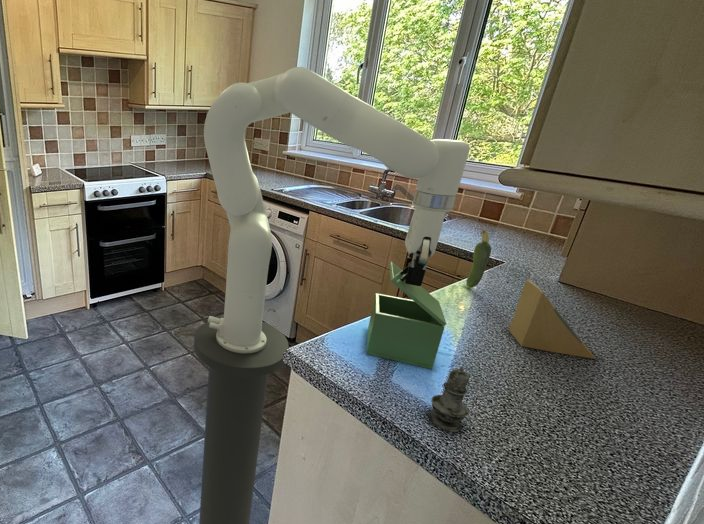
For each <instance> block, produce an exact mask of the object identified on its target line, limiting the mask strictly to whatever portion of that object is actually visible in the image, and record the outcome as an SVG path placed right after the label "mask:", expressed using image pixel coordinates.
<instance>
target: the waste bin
mask: <svg viewBox="0 0 704 524" xmlns="http://www.w3.org/2000/svg"><path fill="white" fill-rule="evenodd" d="M444 331H445V326H443V325H441V324H440V323H439V322H438V321H437V320H436V319H434V318H433V317H432V316H431V315H430V314H429V313H427V312H426V311H425V310H424V309H423V308H422V307H420V306H419V305H418V304H417V303H416V302H415V301H413V300H412V299H411V298H410V299H408V298H403V297H398V296H393V295H388V294H383V293H378V292H375V294H374V298H373V303H372V307H371V312H370V317H369V321H368V326H367V332H366V333H367V335H366V355H370V356H374V357H377V358H383V359H386V360H390V361H395V362H399V363H404V364H407V365H412V366H416V367H420V368H425V369H428V370H433V368H434V365H435V362H436V358H437V355H438V351H439V347H440V344H441V341H442V337H443V334H444Z"/></svg>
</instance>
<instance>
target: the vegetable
mask: <svg viewBox="0 0 704 524" xmlns="http://www.w3.org/2000/svg"><path fill="white" fill-rule="evenodd" d="M480 235H481V241H480V242H477V243H476V244H475V247H474V249H473V256H472V257H473V258H472V267H471V269H470V271H469V273H468V276H467V278H466V280H465V281H466V283H465V287H467V289H469V290H470V289H473V288H475V287H476V286H478V285H479V283H480V282H481V281H482V278H483V276H484V274H485V272H486V269H487V265H488V264H489V260H490V257H491V255H492V254H491V253H492V246H491V244H490V235H489V232H488V231H487V230H485V229H483V230H481V231H480Z"/></svg>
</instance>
